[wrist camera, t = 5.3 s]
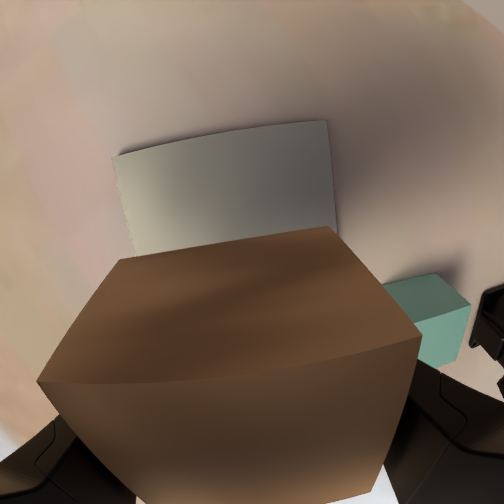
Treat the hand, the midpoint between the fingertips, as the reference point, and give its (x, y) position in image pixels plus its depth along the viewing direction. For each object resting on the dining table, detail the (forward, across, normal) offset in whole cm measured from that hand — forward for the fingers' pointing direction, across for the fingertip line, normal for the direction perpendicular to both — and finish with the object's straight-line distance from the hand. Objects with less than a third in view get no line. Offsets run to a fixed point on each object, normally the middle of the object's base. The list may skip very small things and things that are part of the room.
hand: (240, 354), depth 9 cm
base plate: (+11, 0, 0) cm, 11 cm away
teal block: (+11, -12, +8) cm, 18 cm away
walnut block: (+1, 0, 0) cm, 1 cm away
